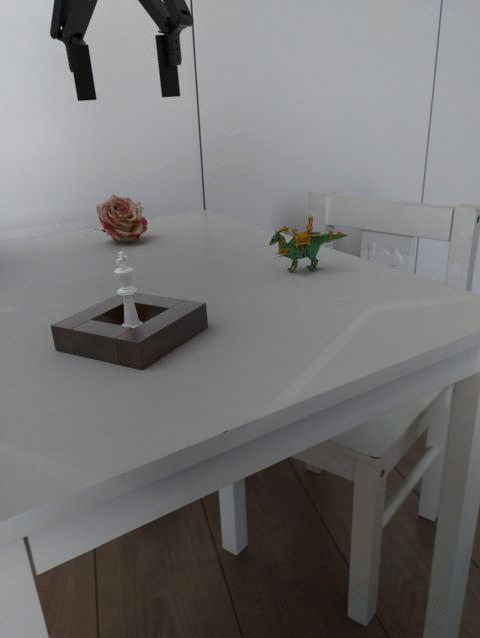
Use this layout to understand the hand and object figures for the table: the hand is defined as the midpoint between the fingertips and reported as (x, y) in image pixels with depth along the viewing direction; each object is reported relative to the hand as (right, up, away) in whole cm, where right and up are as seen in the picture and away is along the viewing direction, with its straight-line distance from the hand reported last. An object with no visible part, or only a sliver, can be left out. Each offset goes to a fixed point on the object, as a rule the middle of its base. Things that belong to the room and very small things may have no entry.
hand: (127, 99), depth 72 cm
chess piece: (+2, -30, -7) cm, 31 cm away
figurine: (+24, -20, +14) cm, 34 cm away
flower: (-9, -11, +36) cm, 39 cm away
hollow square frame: (+2, -30, -7) cm, 31 cm away
